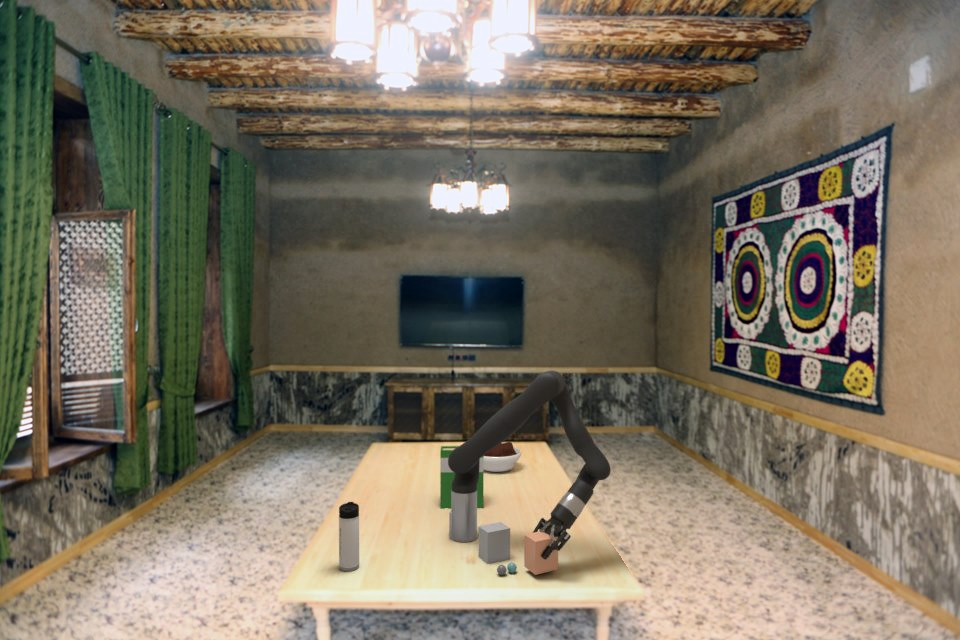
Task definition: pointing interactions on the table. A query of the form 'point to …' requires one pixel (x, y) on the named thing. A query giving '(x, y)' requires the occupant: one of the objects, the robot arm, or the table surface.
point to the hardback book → (448, 477)
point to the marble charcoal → (501, 569)
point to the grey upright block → (494, 542)
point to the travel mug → (349, 536)
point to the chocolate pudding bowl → (501, 457)
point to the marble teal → (511, 567)
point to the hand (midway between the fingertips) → (536, 553)
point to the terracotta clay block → (539, 553)
